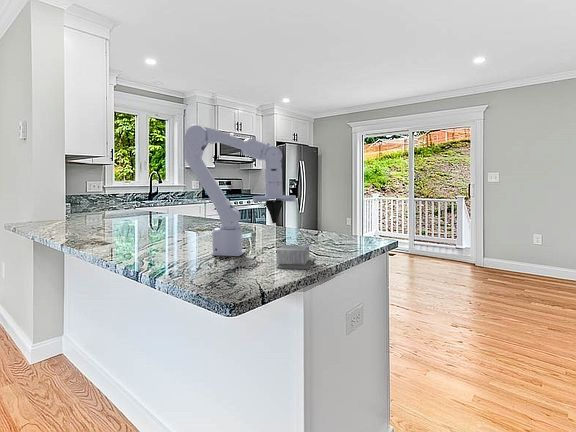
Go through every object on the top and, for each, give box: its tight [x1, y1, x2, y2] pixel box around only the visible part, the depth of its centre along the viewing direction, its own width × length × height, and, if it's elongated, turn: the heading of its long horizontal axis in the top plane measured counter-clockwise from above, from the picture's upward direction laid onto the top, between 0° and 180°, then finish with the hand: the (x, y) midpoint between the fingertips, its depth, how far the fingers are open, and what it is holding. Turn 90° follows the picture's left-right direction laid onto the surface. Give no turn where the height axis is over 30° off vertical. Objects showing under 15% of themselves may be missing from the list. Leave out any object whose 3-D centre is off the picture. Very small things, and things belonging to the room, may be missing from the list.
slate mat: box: [276, 257, 316, 271], centre depth 110 cm, size 9×14×1 cm, turn 168°
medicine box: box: [276, 244, 310, 265], centre depth 110 cm, size 8×4×9 cm
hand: (274, 222), depth 125 cm, fingers closed
